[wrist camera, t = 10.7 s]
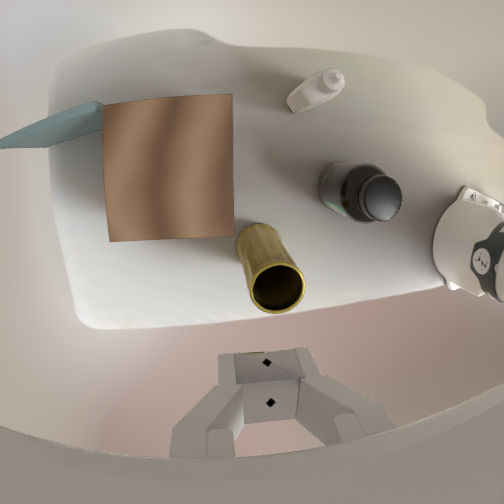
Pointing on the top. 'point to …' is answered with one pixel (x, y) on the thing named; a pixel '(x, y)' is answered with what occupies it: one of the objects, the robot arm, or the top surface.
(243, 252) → the vase
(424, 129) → the top surface
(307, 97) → the eye dropper bottle
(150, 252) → the top surface
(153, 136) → the cabinet box
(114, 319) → the top surface
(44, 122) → the door
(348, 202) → the supplement bottle
